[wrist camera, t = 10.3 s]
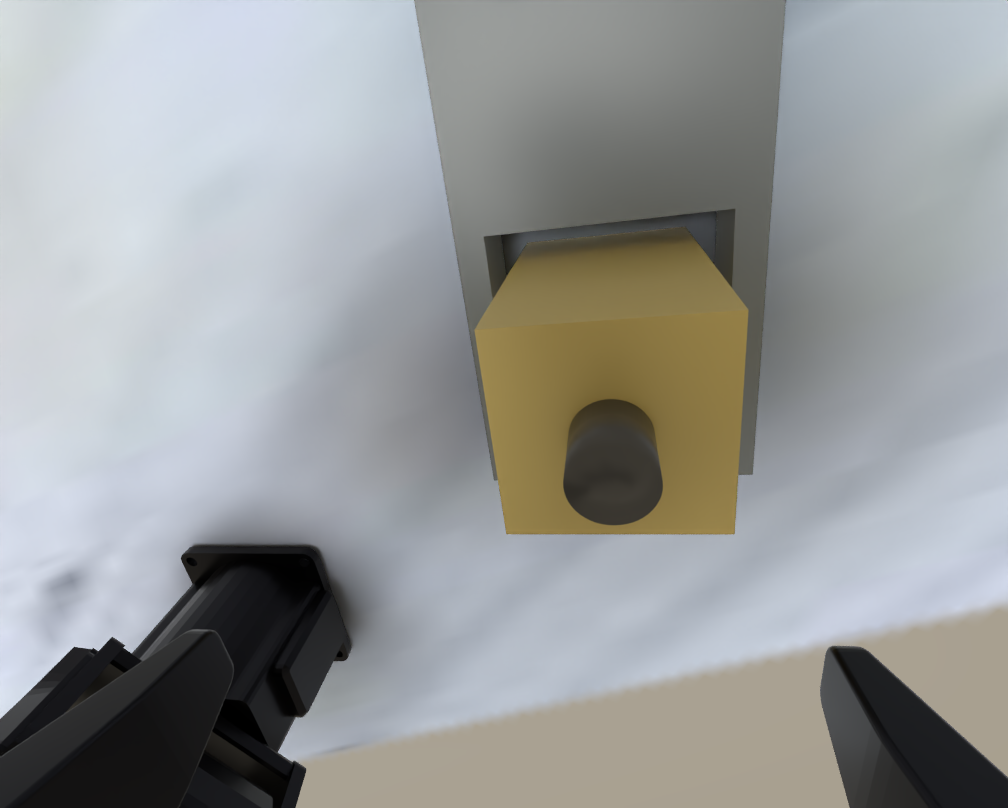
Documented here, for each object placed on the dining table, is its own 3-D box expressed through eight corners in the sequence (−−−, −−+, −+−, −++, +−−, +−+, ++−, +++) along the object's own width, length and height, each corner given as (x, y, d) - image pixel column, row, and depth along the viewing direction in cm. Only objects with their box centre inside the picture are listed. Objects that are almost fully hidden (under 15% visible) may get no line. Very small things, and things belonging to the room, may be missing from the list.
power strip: (505, 441, 20) (475, 541, 15) (380, -391, 12) (224, -749, 7) (735, 432, 19) (780, 542, 14) (785, -532, 10) (951, -1124, 5)
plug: (542, 380, 19) (493, 589, 11) (527, 242, 17) (453, 364, 9) (683, 373, 18) (753, 594, 10) (685, 226, 16) (775, 344, 8)
